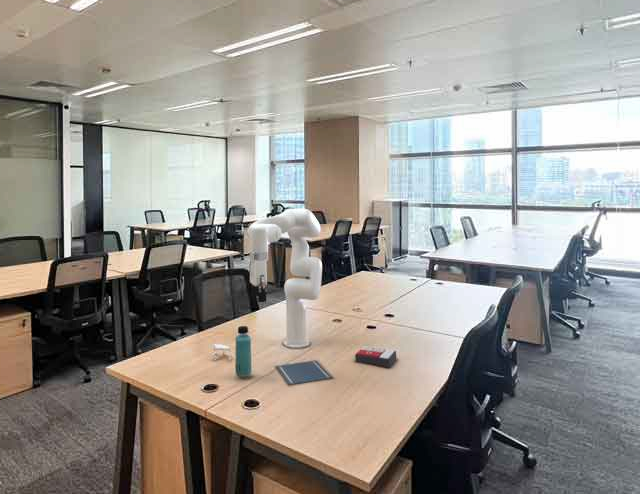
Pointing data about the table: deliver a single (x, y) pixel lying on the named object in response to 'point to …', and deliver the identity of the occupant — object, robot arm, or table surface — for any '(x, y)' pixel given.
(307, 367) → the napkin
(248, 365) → the beverage bottle
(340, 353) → the table surface
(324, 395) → the table surface
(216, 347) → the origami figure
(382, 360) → the black buttoned block
